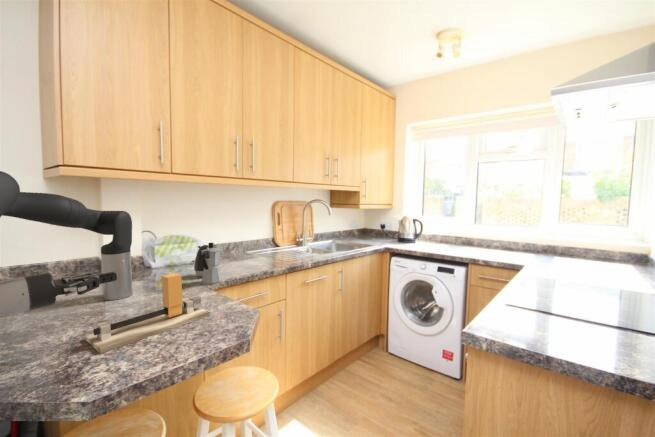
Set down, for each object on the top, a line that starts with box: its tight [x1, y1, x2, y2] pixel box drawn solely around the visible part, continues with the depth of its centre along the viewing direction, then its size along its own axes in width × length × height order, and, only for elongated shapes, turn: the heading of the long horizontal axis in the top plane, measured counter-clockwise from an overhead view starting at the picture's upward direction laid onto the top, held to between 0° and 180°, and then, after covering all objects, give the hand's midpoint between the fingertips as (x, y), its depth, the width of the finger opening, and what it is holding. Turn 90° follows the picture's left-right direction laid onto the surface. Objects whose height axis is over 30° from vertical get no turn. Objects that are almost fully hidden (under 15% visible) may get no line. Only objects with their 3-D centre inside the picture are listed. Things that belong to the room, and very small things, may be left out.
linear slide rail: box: [84, 295, 211, 354], centre depth 87 cm, size 12×29×5 cm, turn 143°
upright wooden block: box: [161, 272, 183, 317], centre depth 91 cm, size 4×4×12 cm
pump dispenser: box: [193, 244, 209, 278], centre depth 143 cm, size 10×10×15 cm
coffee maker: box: [201, 242, 223, 285], centre depth 132 cm, size 15×9×18 cm, turn 178°
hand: (115, 276), depth 79 cm, fingers closed
